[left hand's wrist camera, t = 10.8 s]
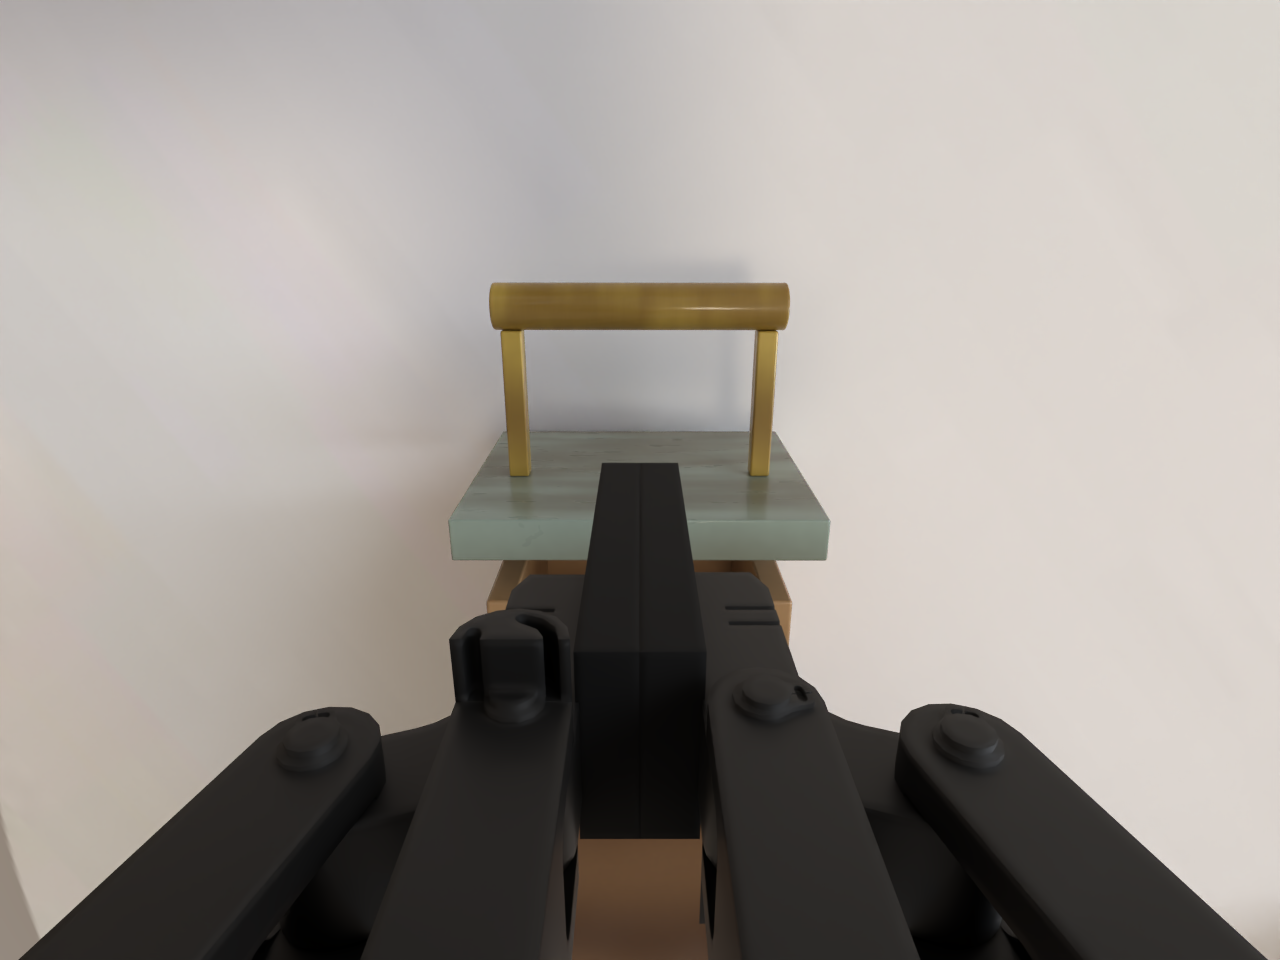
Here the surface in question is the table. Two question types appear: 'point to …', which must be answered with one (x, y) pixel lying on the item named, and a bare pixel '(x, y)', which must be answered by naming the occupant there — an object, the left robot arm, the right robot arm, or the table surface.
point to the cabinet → (639, 900)
